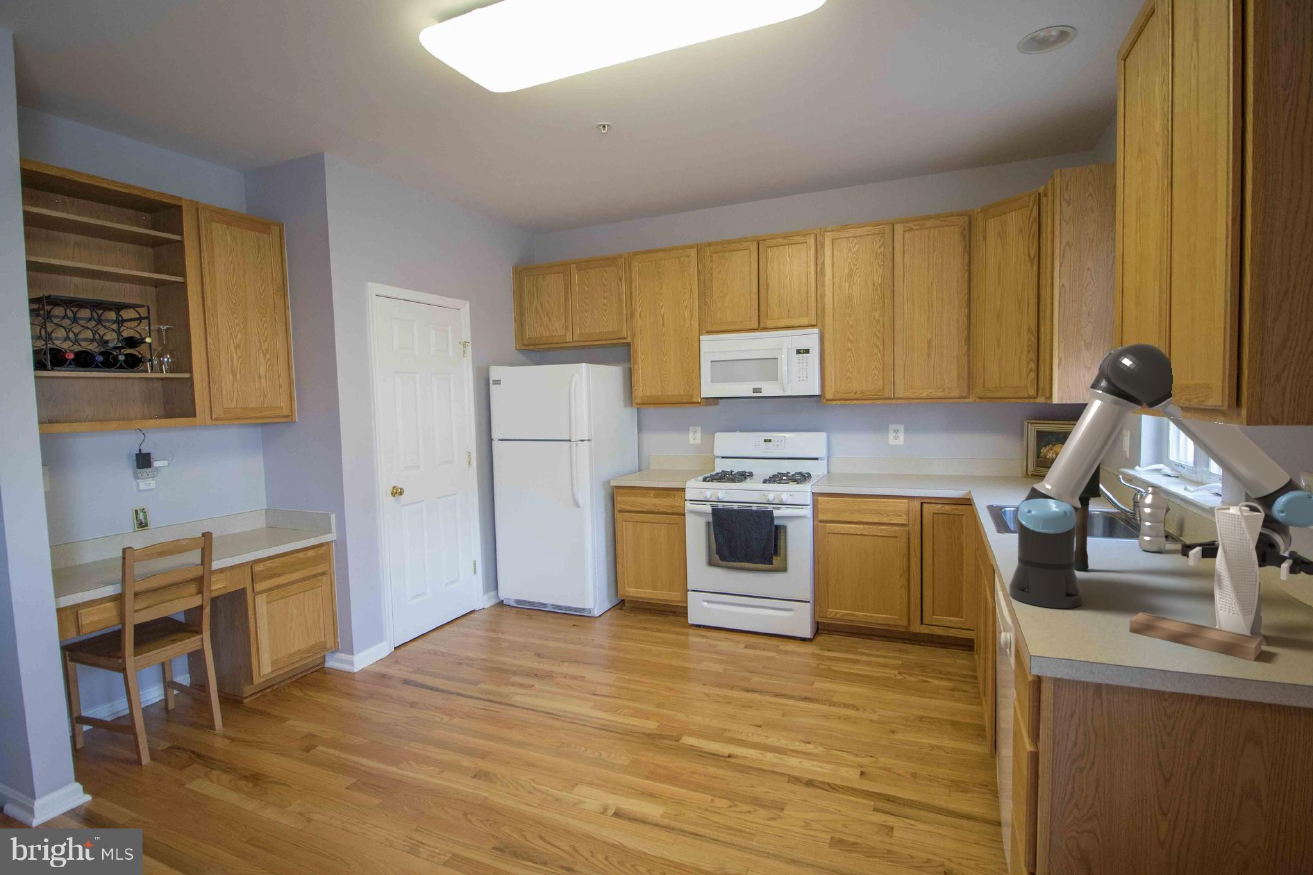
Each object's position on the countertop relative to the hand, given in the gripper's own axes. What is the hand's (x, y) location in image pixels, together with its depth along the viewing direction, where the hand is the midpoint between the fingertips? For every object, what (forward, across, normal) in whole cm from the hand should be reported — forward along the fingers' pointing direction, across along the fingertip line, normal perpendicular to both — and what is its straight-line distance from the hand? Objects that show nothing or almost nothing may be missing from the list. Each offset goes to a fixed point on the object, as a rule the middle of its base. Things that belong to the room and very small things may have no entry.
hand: (1235, 565), depth 124 cm
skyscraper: (-3, 0, -15) cm, 16 cm away
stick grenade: (-34, +37, -15) cm, 53 cm away
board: (+6, +5, -15) cm, 17 cm away
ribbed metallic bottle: (-71, +30, -15) cm, 79 cm away
